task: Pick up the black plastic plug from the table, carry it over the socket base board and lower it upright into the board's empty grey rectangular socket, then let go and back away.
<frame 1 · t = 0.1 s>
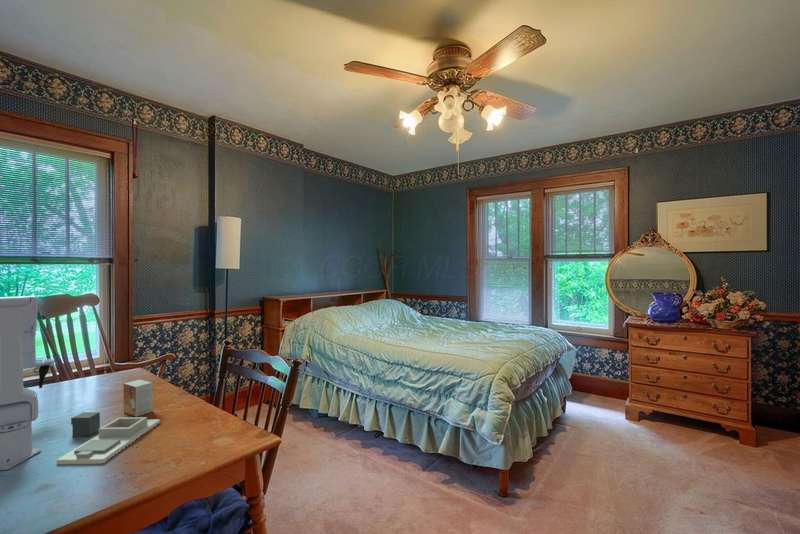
hand: (24, 389, 121), 11 cm above the table, tool pointing down, fingers open, 7 cm apart
plug: (86, 434, 112), on the table
small box: (138, 412, 129), on the table
socket base board: (114, 441, 108), on the table
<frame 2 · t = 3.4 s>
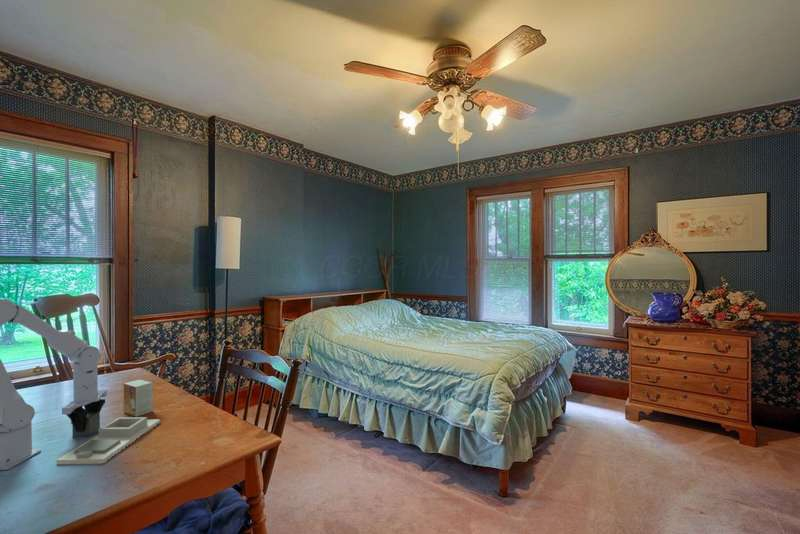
hand: (86, 427, 112), 2 cm above the table, tool pointing down, fingers closed on plug, 4 cm apart
plug: (86, 434, 112), on the table, touching gripper
everything else where it was.
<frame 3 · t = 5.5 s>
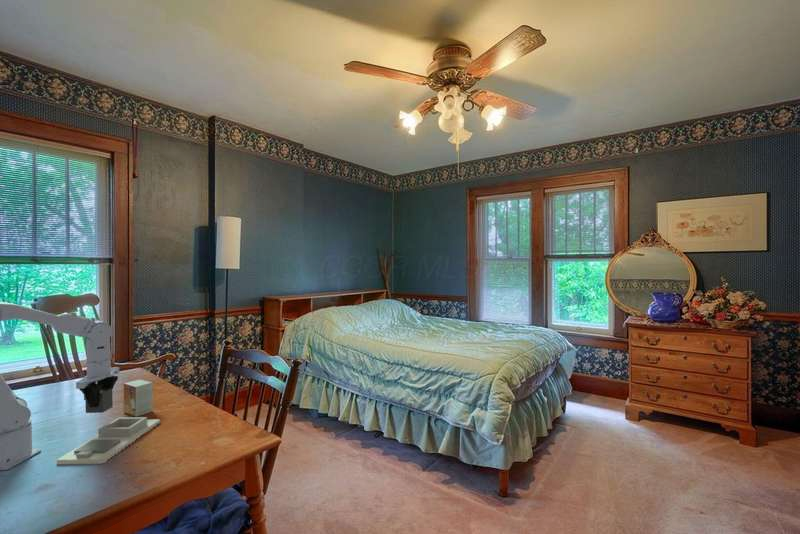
hand: (99, 403, 112), 9 cm above the table, tool pointing down, fingers closed on plug, 4 cm apart
plug: (99, 410, 112), point 8 cm above the table, touching gripper
everything else where it was.
when the fingers open (4 cm above the table, at t = 7.7 s): plug stays where it is, resting on socket base board.
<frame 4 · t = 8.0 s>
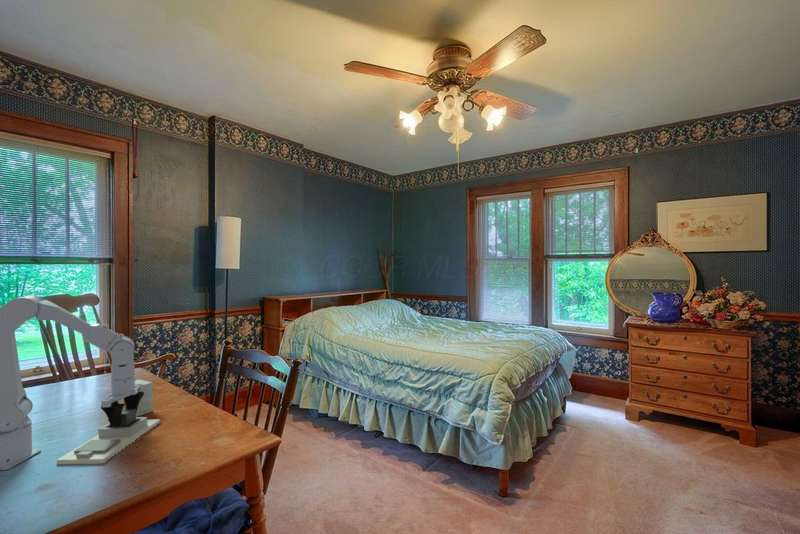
hand: (123, 421, 112), 4 cm above the table, tool pointing down, fingers open, 6 cm apart
plug: (123, 430, 112), point 1 cm above the table, touching socket base board
everything else where it was.
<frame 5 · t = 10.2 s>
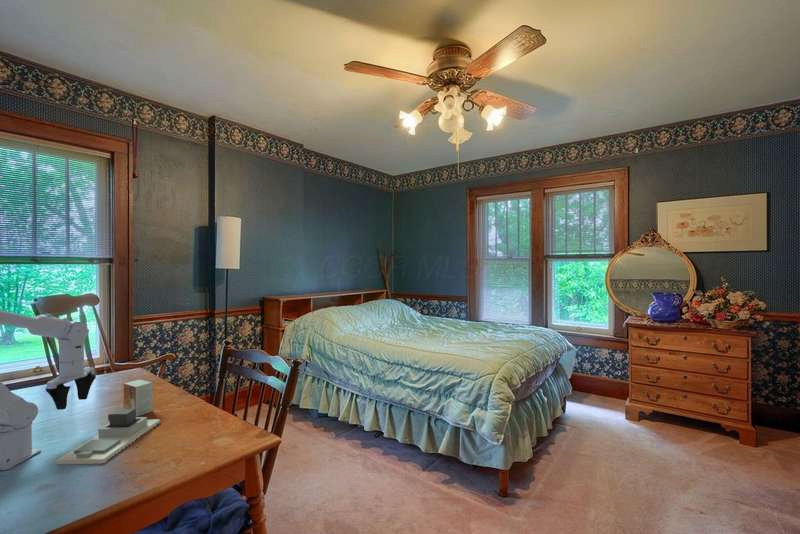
hand: (72, 404, 112), 9 cm above the table, tool pointing down, fingers open, 7 cm apart
nothing on the table moved.
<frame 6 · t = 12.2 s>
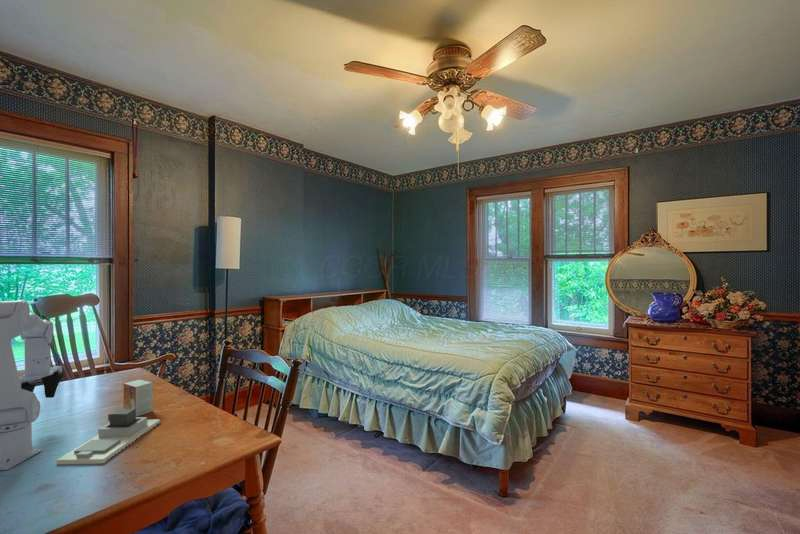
hand: (38, 401, 114), 9 cm above the table, tool pointing down, fingers open, 7 cm apart
nothing on the table moved.
at the end: plug 0.2 cm from the target spot on the socket base board, point 1.3 cm above the socket base board's base; plug tilted 0°; the gripper is holding nothing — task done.
